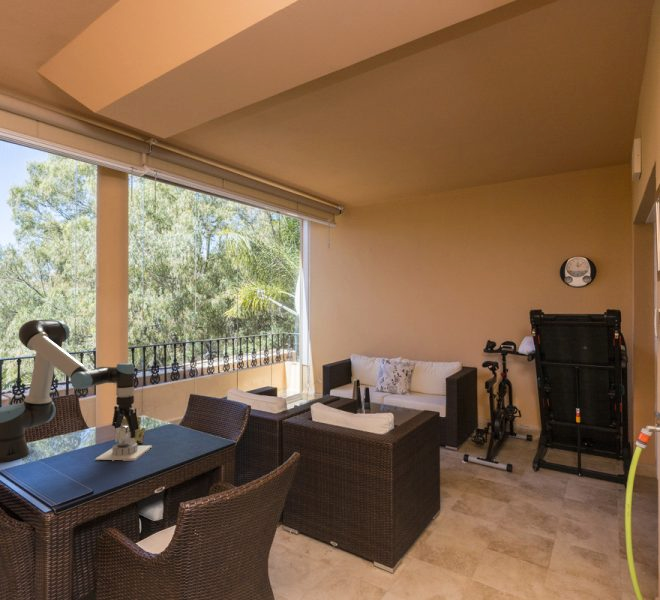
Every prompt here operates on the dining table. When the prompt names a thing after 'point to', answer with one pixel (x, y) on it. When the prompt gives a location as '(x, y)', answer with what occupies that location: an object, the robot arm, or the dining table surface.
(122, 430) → the elbow
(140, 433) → the mechanical component
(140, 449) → the plate
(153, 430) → the dining table surface
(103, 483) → the dining table surface
